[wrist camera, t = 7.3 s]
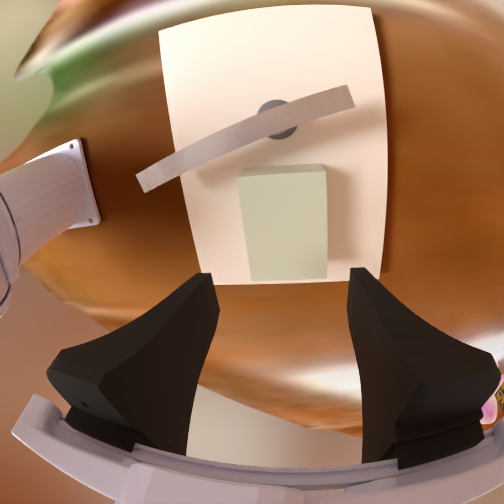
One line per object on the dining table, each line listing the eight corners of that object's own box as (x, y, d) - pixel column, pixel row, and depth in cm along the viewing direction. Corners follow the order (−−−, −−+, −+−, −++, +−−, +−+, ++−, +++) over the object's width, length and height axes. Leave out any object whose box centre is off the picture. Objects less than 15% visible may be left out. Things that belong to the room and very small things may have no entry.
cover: (256, 261, 21) (251, 281, 18) (243, 168, 17) (236, 177, 15) (323, 259, 20) (327, 278, 18) (321, 163, 16) (325, 171, 14)
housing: (207, 277, 23) (204, 285, 22) (164, 34, 14) (157, 31, 13) (376, 272, 21) (379, 279, 20) (366, 12, 11) (370, 7, 10)
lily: (431, 404, 32) (463, 439, 24) (417, 410, 25) (457, 457, 17) (479, 347, 30) (514, 381, 22) (480, 336, 23) (526, 380, 15)
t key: (342, 111, 14) (357, 111, 11) (173, 178, 18) (146, 196, 15) (332, 87, 14) (345, 80, 10) (163, 158, 17) (134, 171, 14)
